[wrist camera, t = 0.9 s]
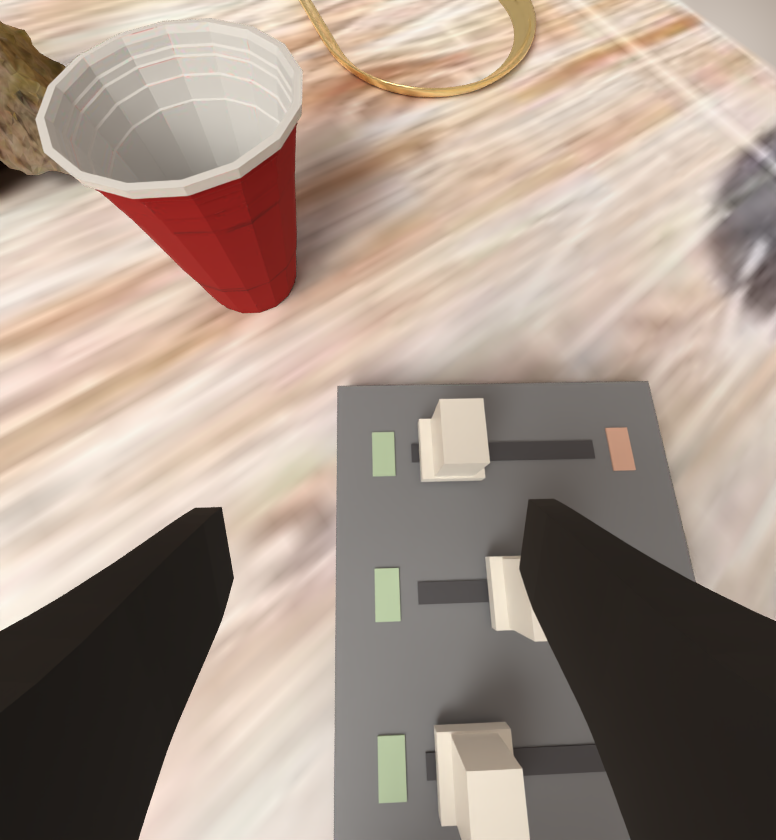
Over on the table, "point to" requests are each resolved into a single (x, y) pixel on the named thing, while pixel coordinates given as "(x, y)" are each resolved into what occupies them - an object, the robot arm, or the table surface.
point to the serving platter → (524, 31)
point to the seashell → (23, 101)
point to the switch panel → (475, 594)
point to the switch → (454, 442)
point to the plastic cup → (190, 147)
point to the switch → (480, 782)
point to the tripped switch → (510, 598)
